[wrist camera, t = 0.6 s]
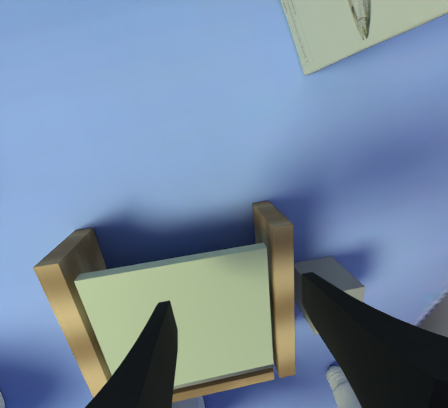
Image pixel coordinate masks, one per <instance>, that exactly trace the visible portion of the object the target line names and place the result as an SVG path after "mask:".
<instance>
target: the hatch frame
mask: <svg viewBox="0 0 448 408" xmlns="http://www.w3.org/2000/svg"><path fill="white" fill-rule="evenodd" d="M253 214H254V227H255V241H256V244H258V243H264V244H265V246H266V248H267V261H268V278H269V296H270V313H271V331H272V348H273V361H274V364H275V367H276V369H277V372H278V375H279V378H283V377H287V376H291V375H295V320H294V240H293V224H292V223H291V222H290V221H289V220H288V219H287V218H286V217H285V216H284V215H283V214H282V213H281V212H280V211H279V210H278V209H277V208H275V207H274V206H273V205H272V204H271V203H270V202H269V201H263V202H257V203H253ZM33 268H34V270H35V273H36V275H37V277H38V279H39V281H40V283H41V286H42V288H43V290H44V292H45V294H46V296H47V298H48V301H49V303H50V305H51V307H52V309H53V311H54V314H55V316H56V318H57V320H58V322H59V324H60V327H61V329H62V331H63V333H64V335H65V337H66V340H67V342H68V344H69V346H70V348H71V350H72V352H73V355H74V357H75V359H76V361H77V363H78V365H79V368H80V370H81V372H82V374H83V376H84V378H85V381H86V383H87V385H88V387H89V389H90V391H91V393H92V396H93V398H94V397H95V396H96V395H97V393H98V392H99V391H100V390H101V389H102V387H103V386H104V385H105V384H106V383H107V381H108V380H109V379H110V377H111V376H112V375H111V372H110V370H109V367H108V365H107V362H106V360H105V357H104V355H103V352H102V350H101V347H100V345H99V342H98V340H97V337H96V335H95V332H94V330H93V327H92V325H91V322H90V320H89V317H88V315H87V312H86V310H85V307H84V305H83V302H82V300H81V298H80V295H79V293H78V290H77V288H76V285H75V283H74V281H75V279H76V278H77V277H78V275H79V274H83V273H88V272H94V271H100V270H106V269H107V268H106V265H105V262H104V259H103V256H102V253H101V250H100V247H99V244H98V241H97V238H96V235H95V232H94V229H93V228H88V229H81V230H75V231H74V232H73V233H72V234H70V235H69V236H68V237H67V238H66V239H65V240H64V241H63V242H61V243H60V244H59V245H58V246H57V247H56V248H55V249H53V250H52V251H51V252H50V253H49V254H48V255H47V256H46V257H44V258H43V259H42V260H41V261H40V262H39V263H38V264H37V265H35V266H34V267H33ZM269 380H274V371H273V368H268V369H264V370H259V371H255V372H250V373H246V374H241V375H237V376H232V377H228V378H223V379H219V380H214V381H210V382H205V383H201V384H196V385H192V386H187V387H183V388H178V389H174V390H173V398H172V403H173V402H177V401H181V400H186V399H190V398H195V397H199V396H203V395H208V394H212V393H217V392H221V391H225V390H230V389H234V388H239V387H243V386H247V385H252V384H256V383H261V382H265V381H269Z"/></svg>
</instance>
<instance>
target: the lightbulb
mask: <svg viewBox="0 0 448 408" xmlns="http://www.w3.org/2000/svg"><path fill="white" fill-rule="evenodd" d="M326 378H327V380H328V382H329V385H330V387H331V389H332V390H333V396H334V399H335V401H336V403H337V405H338V408H362V407H361V405H360V403H359V401H358V399H357V397H356V395H355V393H354V391H353V390H352V388H351V386H350V384H349V382H348V380H347V378H346V376H345V375H344V373H343V371H342V369H341V368H340V366H331V367H330V368H329V370H328V371H327V373H326Z"/></svg>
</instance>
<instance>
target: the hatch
mask: <svg viewBox="0 0 448 408" xmlns="http://www.w3.org/2000/svg"><path fill="white" fill-rule="evenodd" d="M74 283H75V285H76V288H77V290H78V293H79V295H80V298H81V300H82V302H83V305H84V307H85V310H86V312H87V315H88V317H89V320H90V322H91V325H92V327H93V330H94V332H95V335H96V337H97V340H98V342H99V345H100V347H101V350H102V352H103V355H104V357H105V360H106V362H107V365H108V367H109V370H110V372H111V375H113V374H114V372H115V371H116V370H117V368H118V367H119V366H120V364H121V363H122V361H123V360H124V358H125V357H126V356H127V354H128V353H129V351H130V349H131V348H132V346H133V345H134V343H135V342H136V340H137V339H138V337H139V335H140V334H141V332H142V330H143V329H144V327H145V325H146V324H147V322H148V320H149V318H150V316H151V315H152V313H153V311H154V309H155V307H156V305H157V304H158V303H159V302H164V301H169V300H170V302H171V306H172V310H173V314H174V317H175V321H176V325H177V329H178V353H177V362H176V371H175V380H174V389H178V388H183V387H187V386H192V385H196V384H201V383H205V382H210V381H214V380H219V379H223V378H228V377H232V376H237V375H241V374H246V373H250V372H255V371H259V370H264V369H268V368H273V367H274V364H273V348H272V331H271V313H270V296H269V278H268V261H267V248H266V246H265V244H264V243H258V244H253V245H247V246H241V247H235V248H229V249H223V250H217V251H212V252H206V253H200V254H194V255H188V256H182V257H176V258H170V259H165V260H159V261H153V262H147V263H141V264H135V265H129V266H124V267H118V268H112V269H106V270H100V271H94V272H88V273H83V274H79V275H78V277H77V278H76V279H75V281H74ZM174 389H173V390H174Z"/></svg>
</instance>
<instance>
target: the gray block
mask: <svg viewBox="0 0 448 408" xmlns="http://www.w3.org/2000/svg"><path fill="white" fill-rule="evenodd" d="M308 272H313V273H315V274H317V275H318V276H320V277H321V278H323V279H325V280H326V281H328V282H329V283H331V284H333V285H334V286H336V287H337V288H339V289H341V290H342V291H344V292H346V293H347V294H349V295H351V296H352V297H354V298H356V299H358V300H360V301H362V302H363V299H364V290H365V286H364V285H362V284H361V283H360V282H359V281H358V280H357V279H356V278H355V277H354V276H353V275H352V274H351V273H349V272H348V271H347V270H346V269H345V268H344V267H343V266H342V265H341V264H340V263H339V262H338V261H336V260H335V259H334V258H333V257H332V256H329V257H323V258H318V259H312V260H307V261H301V262H296V263H294V300H295V302H296V304H297V305H298V307H299V309H300V310H301V312H302V314H303V316H304V317H305V319H306V321H307V322H308V324H309V326H310V327H311V329H312V331H313V332H314V334H315V335H318V334H319V333H318V332H317V330H316V329H315V327H314V326H313V324H312V322H311V321H310V319H309V317H308V315H307V313H306V311H305V308H304V306H303V304H302V274H303V273H308Z"/></svg>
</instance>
